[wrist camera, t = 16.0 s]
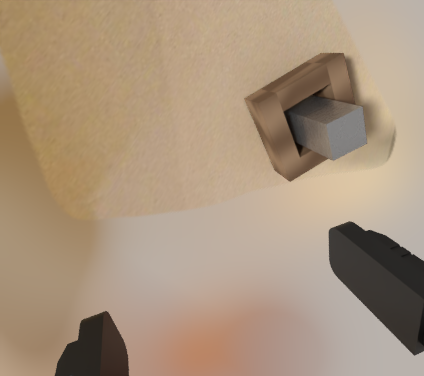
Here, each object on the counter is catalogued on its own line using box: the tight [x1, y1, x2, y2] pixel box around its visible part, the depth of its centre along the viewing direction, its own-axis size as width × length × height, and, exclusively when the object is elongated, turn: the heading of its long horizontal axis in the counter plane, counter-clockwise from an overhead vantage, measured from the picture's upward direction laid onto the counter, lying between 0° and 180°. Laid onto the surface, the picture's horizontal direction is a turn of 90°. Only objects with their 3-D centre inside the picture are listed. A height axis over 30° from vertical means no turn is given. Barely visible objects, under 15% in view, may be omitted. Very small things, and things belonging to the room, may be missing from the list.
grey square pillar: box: [283, 95, 367, 160], centre depth 37 cm, size 4×4×11 cm
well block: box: [245, 53, 355, 181], centre depth 40 cm, size 12×12×4 cm
